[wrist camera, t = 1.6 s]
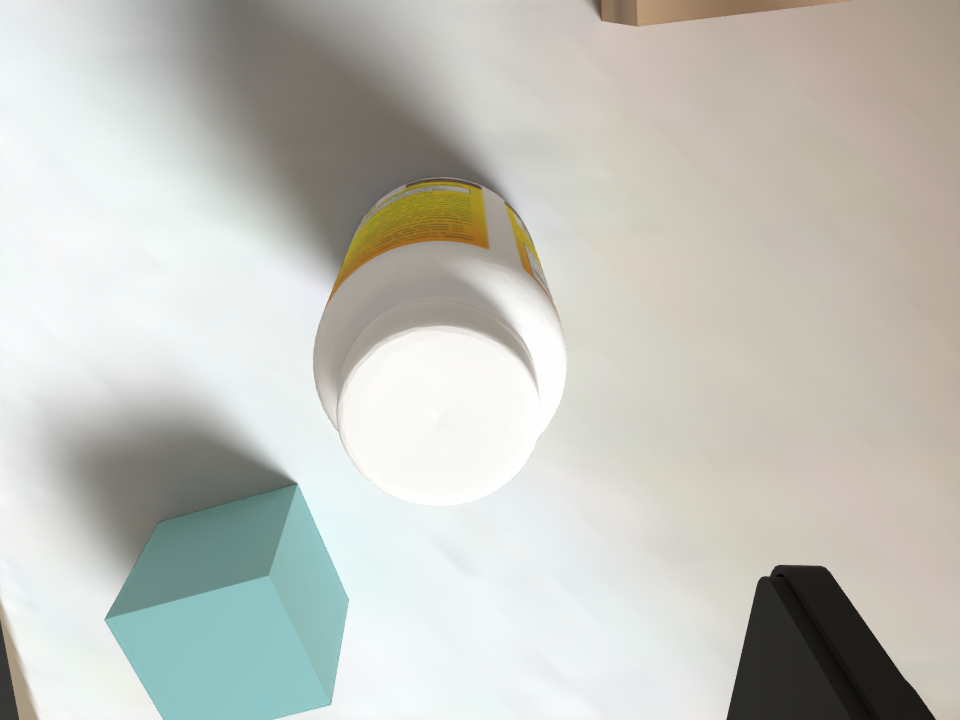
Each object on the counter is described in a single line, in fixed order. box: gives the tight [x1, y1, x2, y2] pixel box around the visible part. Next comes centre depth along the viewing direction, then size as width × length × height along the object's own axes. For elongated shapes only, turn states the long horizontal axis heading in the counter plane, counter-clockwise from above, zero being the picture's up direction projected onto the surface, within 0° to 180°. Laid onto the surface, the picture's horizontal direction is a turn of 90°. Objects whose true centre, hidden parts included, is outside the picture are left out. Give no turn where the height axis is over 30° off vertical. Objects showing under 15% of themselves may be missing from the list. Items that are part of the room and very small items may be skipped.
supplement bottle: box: [313, 177, 567, 505], centre depth 21 cm, size 6×6×10 cm
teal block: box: [104, 484, 349, 720], centre depth 27 cm, size 5×5×5 cm
